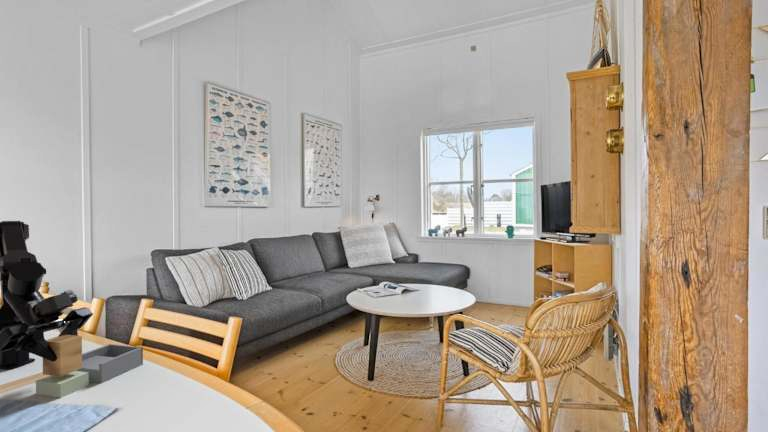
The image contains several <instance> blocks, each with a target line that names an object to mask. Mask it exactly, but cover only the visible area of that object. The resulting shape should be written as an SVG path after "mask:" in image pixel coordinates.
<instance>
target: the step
mask: <svg viewBox="0 0 768 432" xmlns="http://www.w3.org/2000/svg"><path fill="white" fill-rule="evenodd" d="M89 382H90V381H89V372H81V371H74V372H71V373H69V374H66V375H64V376H61V377H59V376H51V375H46V376H44V377H42V378H39V379H37V380H35V394H36V395H39V396H46V397H54V398H60V399H61V398H63V397H66V396H68V395H70V394H72V393H74V392H76V391H79V390H81V389H83V388H86V387H88V386H89V385H90V384H89Z"/></svg>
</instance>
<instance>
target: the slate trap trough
mask: <svg viewBox="0 0 768 432" xmlns="http://www.w3.org/2000/svg"><path fill="white" fill-rule="evenodd" d="M143 364H144V347H143V346H142V347H141V346H134V345H124V344H123V345H122V344H114V343H113V344H112V343H109V344H106V345H103V346H100V347H97V348H95V349H92V350H89V351H87V352H84V353H83V352H82V368H81V369H79V370H76V371H81V372H89V382H93V383H99V384H100V383H101V384H102V383H103V384H104V383H105V382H106V381H109V380H111V379H113V378H116V377H118V376H120V375H122V374H124V373H127V372H128V371H129V372H130V371H131V370H133V369H135V368H138V367H139V366H142V365H143Z"/></svg>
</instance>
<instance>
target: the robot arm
mask: <svg viewBox="0 0 768 432" xmlns="http://www.w3.org/2000/svg"><path fill="white" fill-rule="evenodd" d="M29 238H30V225H29V224H26V223H25V222H24V221H21V220H2V221H0V295H1V306H0V369H3V370H12V369H15V368H17V367H20V366H23V365H27V364H29V363H32V362H35V361H36V358H32V357H30V354H32V355H34V356H35V355H36V356H38V357H40V358H42V359H43V358H45V359H47V360H50V361H52V362H54V361H56V360H57V356H56V355H55V353H54V351H53V350H52V348H51V347H50V346H49V344H48V343H47V341H46V340H47V339H46V338H45V333H46V332H50V331H53V330H58V332H59V334H58V336H61V335H64V334H67V335H76V336H79V334H78V330H80V329H81V328H82V327H83V326H84V325H85V324H87V322H88V320H90V319H91V317H92V316H93V315H94V313H93V312H92V310H91V309H90V308H89V307H80V308H77V309H72V310H70V311H69V312H68V314H67V315H66V316H65V317H63V318H59V317H62V315H63V314H64V313H65V311H64V310H65V309H68V308H71V307H73V306H74V304H76V303H77V302H78V296H77V294H76V293H75V291H73V290H72V289H70V290H65V291H63V292H61V293H60V294H57V295H56V294H55V295H52V296H49V297H46V298H45V297H44V296H43V294H42V293H41V292H40V291H39V290H40V289H41V286H42V282H43V278H44V275H47V269H46V268H45V267H44V266H43V265H42V263H41V262H38V259H37V257H36V255H35V254H33V253H31V252H29V251H28V247H27V244H26V240H29Z"/></svg>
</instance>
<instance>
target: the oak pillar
mask: <svg viewBox="0 0 768 432" xmlns="http://www.w3.org/2000/svg"><path fill="white" fill-rule="evenodd" d="M45 340H46V341H47V343H48V344H49V346H50V347H51V348H52V350H53V351H54V353H55V355H56V356H57V360H56V361H54V362H52V361H50V360H47V359H45V358H43V357H42V375H45V376H49V375H51V376H59V377H61V376H64V375H66V374H69V373H71V372H74V371H76V370H79V369H81V368H82V354H83V336H82V335H78V336H76V335H67V334H64V335H61V336H59V335H58V336H56V337H51V338H48V339H45Z"/></svg>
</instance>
